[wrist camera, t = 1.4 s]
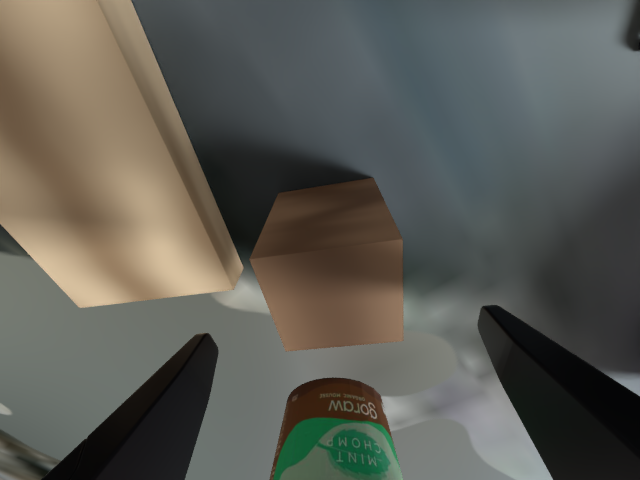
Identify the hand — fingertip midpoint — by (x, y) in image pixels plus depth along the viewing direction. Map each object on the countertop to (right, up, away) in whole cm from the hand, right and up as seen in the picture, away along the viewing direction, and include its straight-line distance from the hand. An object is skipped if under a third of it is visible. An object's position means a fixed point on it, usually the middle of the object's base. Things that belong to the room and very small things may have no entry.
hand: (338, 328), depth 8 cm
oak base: (-12, +6, +5) cm, 14 cm away
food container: (+1, -11, +15) cm, 19 cm away
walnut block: (0, +4, +6) cm, 7 cm away
